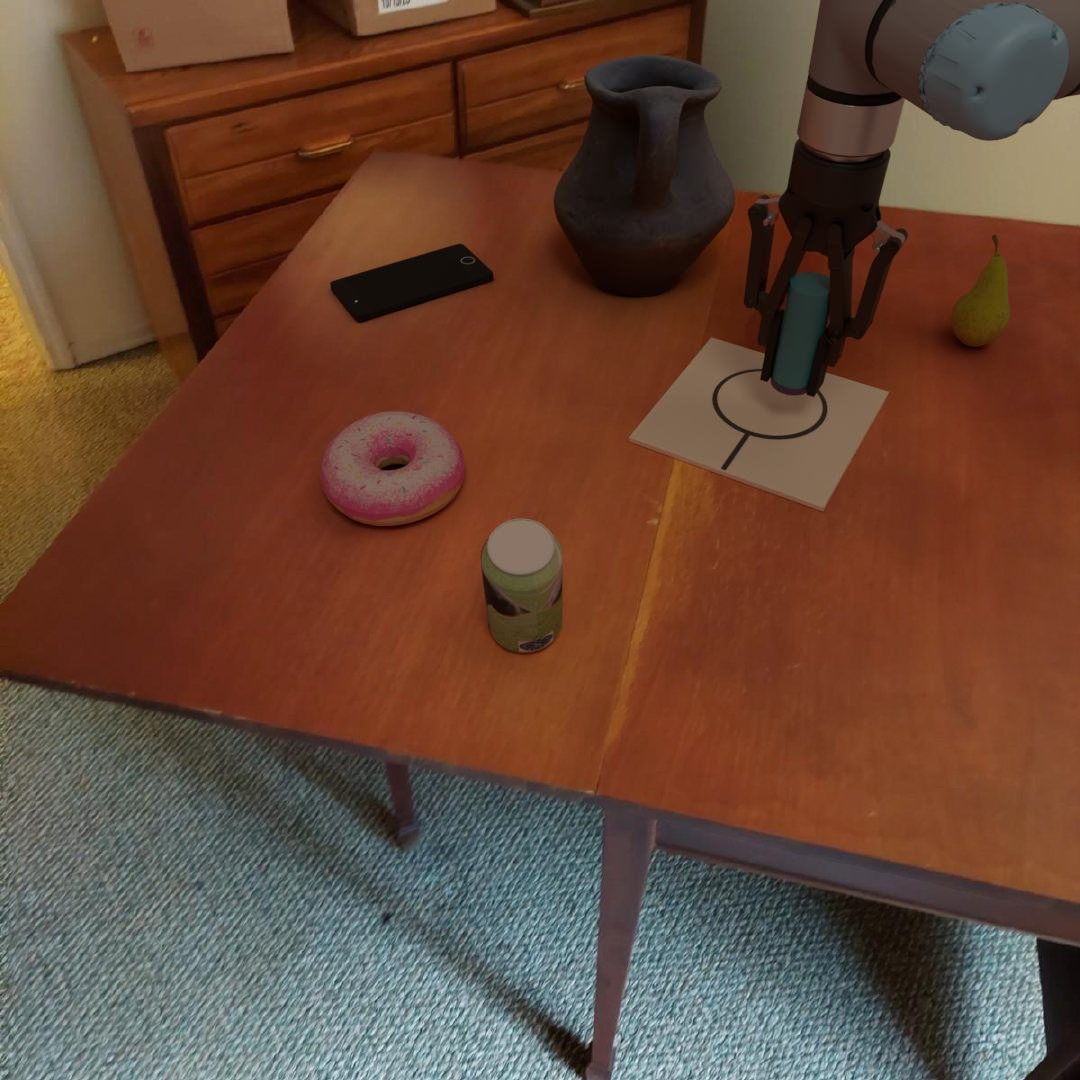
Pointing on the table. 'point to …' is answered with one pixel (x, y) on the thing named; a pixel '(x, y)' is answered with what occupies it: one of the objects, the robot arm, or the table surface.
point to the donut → (392, 493)
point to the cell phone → (410, 281)
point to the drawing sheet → (760, 425)
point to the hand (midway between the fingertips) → (791, 380)
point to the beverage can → (523, 585)
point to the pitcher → (644, 175)
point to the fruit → (984, 305)
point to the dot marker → (801, 332)
